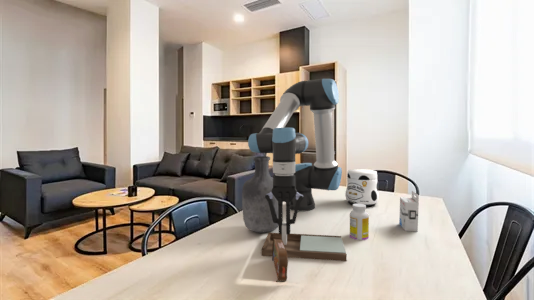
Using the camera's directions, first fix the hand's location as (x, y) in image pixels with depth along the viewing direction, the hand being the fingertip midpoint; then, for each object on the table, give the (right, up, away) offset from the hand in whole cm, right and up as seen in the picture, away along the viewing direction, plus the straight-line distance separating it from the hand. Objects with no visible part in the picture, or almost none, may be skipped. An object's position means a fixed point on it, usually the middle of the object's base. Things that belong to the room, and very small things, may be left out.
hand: (284, 243), depth 92 cm
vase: (-8, -1, +19) cm, 20 cm away
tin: (-2, -4, -15) cm, 15 cm away
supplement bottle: (+28, -2, +9) cm, 30 cm away
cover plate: (+12, -1, -2) cm, 12 cm away
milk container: (+46, +2, +57) cm, 74 cm away
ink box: (+52, -1, +20) cm, 56 cm away
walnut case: (+6, -2, -1) cm, 7 cm away
